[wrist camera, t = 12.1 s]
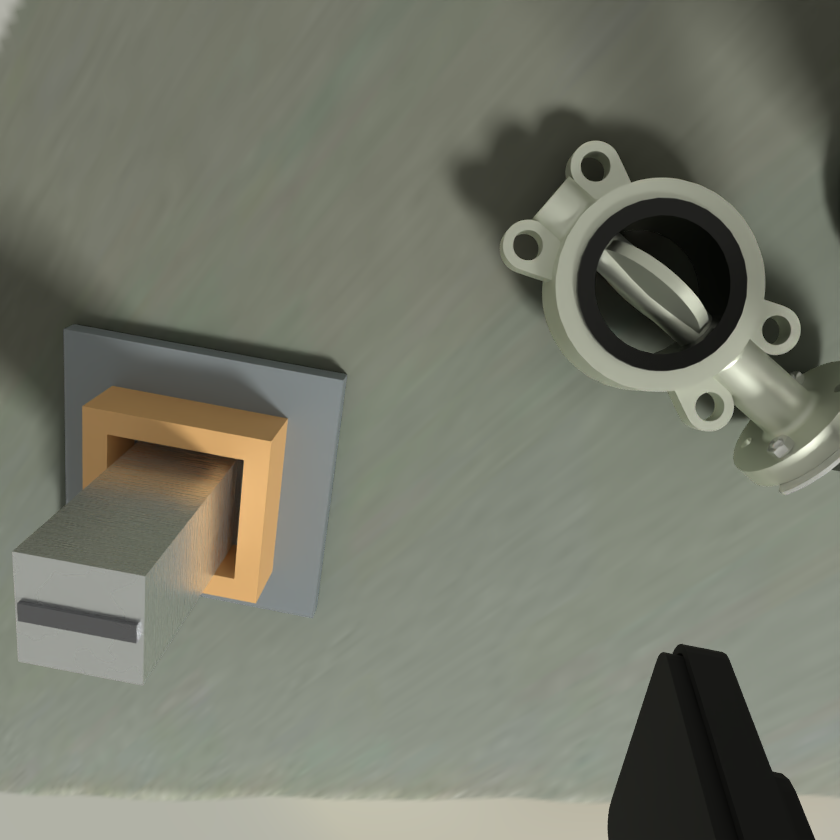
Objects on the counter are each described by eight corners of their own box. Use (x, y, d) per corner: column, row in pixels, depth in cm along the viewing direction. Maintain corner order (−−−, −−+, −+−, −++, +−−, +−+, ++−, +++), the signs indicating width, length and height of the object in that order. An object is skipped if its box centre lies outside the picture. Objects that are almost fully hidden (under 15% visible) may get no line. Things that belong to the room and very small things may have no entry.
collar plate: (347, 374, 38) (330, 401, 35) (316, 607, 43) (299, 653, 40) (73, 324, 39) (28, 345, 35) (75, 560, 44) (36, 601, 40)
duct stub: (246, 447, 39) (143, 579, 28) (240, 532, 41) (140, 688, 30) (150, 430, 39) (9, 554, 28) (149, 515, 41) (15, 664, 30)
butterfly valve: (466, 279, 36) (737, 518, 37) (561, 160, 16) (1148, 690, 17) (589, 135, 35) (858, 380, 37) (844, -170, 16) (1417, 390, 17)
